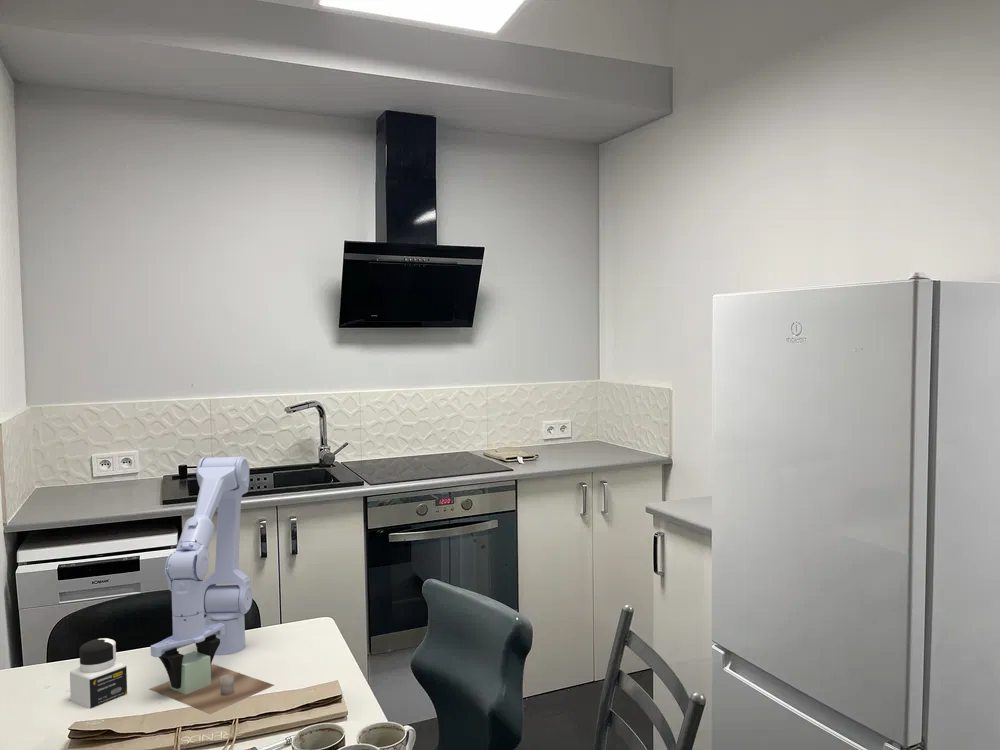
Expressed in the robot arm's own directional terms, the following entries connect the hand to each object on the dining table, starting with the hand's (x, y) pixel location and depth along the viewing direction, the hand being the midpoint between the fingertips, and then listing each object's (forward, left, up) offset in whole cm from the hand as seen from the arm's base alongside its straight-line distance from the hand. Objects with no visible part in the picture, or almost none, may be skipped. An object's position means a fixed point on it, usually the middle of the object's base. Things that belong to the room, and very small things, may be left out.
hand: (190, 681), depth 143 cm
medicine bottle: (-11, -12, -3) cm, 16 cm away
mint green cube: (0, 0, -1) cm, 1 cm away
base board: (+4, +2, -2) cm, 5 cm away
